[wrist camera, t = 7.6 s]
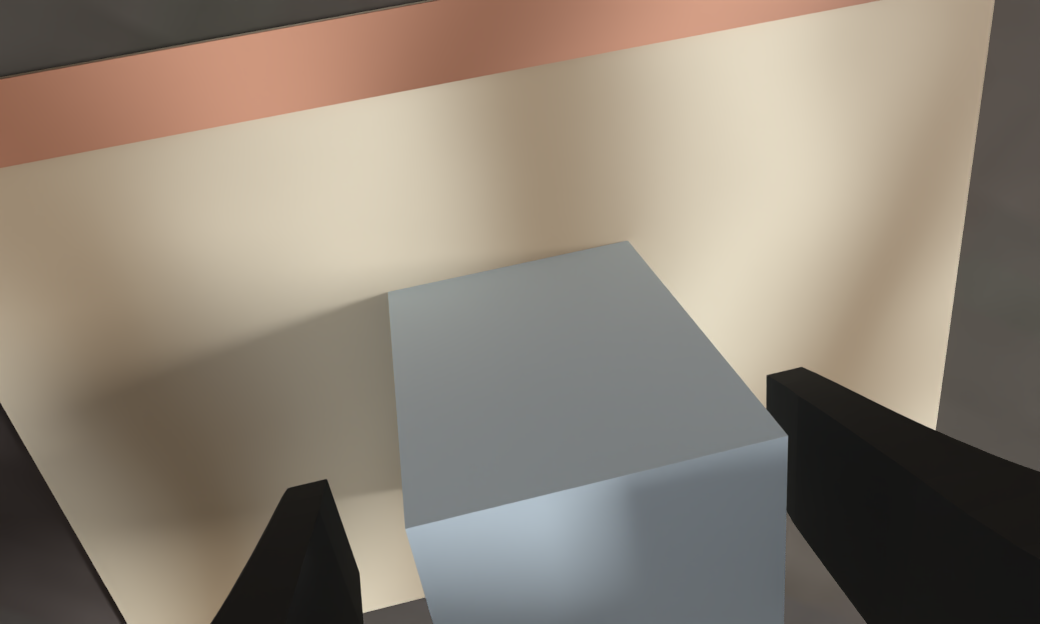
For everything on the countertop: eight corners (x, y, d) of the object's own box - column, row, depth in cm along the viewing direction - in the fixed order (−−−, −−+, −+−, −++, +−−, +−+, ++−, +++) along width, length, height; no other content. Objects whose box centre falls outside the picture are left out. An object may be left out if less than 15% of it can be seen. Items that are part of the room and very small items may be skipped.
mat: (153, 658, 17) (150, 670, 16) (-160, 105, 11) (-173, 111, 11) (924, 465, 18) (933, 472, 18) (999, -103, 13) (1013, -104, 12)
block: (437, 482, 16) (475, 767, 10) (387, 292, 14) (405, 529, 8) (644, 433, 16) (782, 683, 11) (627, 240, 14) (788, 435, 9)
